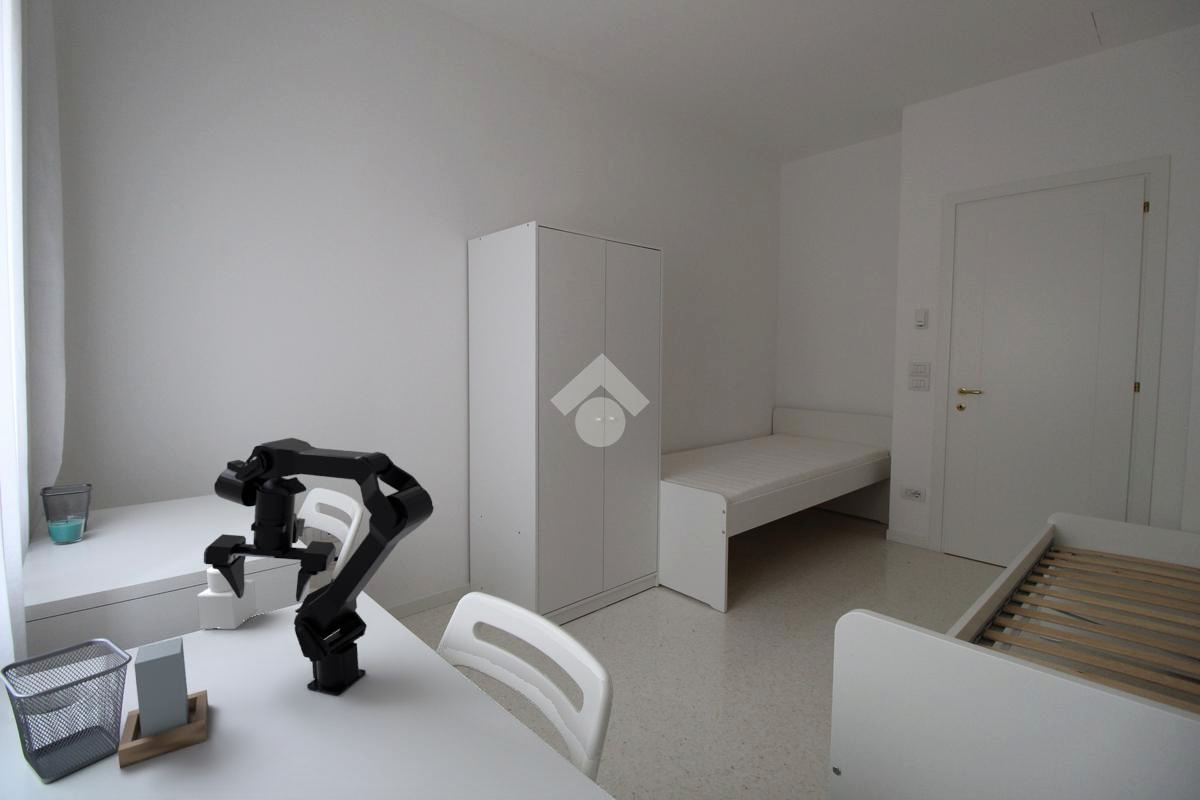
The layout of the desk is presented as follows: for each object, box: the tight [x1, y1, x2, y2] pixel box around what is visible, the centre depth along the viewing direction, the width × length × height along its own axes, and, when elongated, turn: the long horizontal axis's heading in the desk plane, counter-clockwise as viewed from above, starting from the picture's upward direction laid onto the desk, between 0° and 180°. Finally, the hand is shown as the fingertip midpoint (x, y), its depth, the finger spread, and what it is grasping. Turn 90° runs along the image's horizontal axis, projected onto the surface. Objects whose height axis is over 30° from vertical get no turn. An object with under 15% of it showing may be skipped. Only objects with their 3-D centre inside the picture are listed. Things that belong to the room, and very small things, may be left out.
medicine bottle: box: [196, 565, 258, 630], centre depth 113 cm, size 7×7×12 cm
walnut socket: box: [117, 689, 209, 769], centre depth 81 cm, size 9×9×2 cm
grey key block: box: [133, 636, 190, 738], centre depth 81 cm, size 5×5×12 cm
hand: (270, 598), depth 97 cm, fingers open, 9 cm apart
